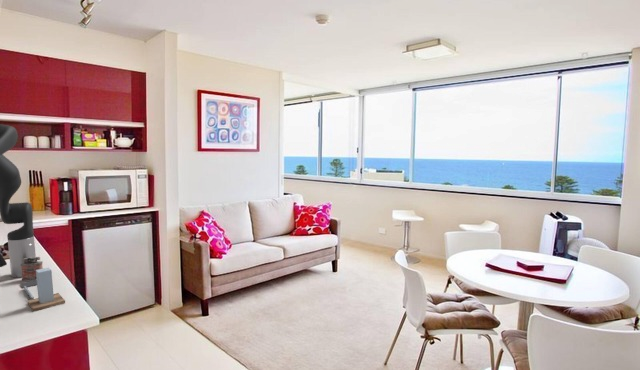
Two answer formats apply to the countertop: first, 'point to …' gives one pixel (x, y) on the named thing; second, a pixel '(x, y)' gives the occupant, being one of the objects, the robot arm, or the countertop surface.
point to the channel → (28, 292)
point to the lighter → (30, 268)
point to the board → (37, 305)
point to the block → (44, 285)
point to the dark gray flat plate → (29, 283)
